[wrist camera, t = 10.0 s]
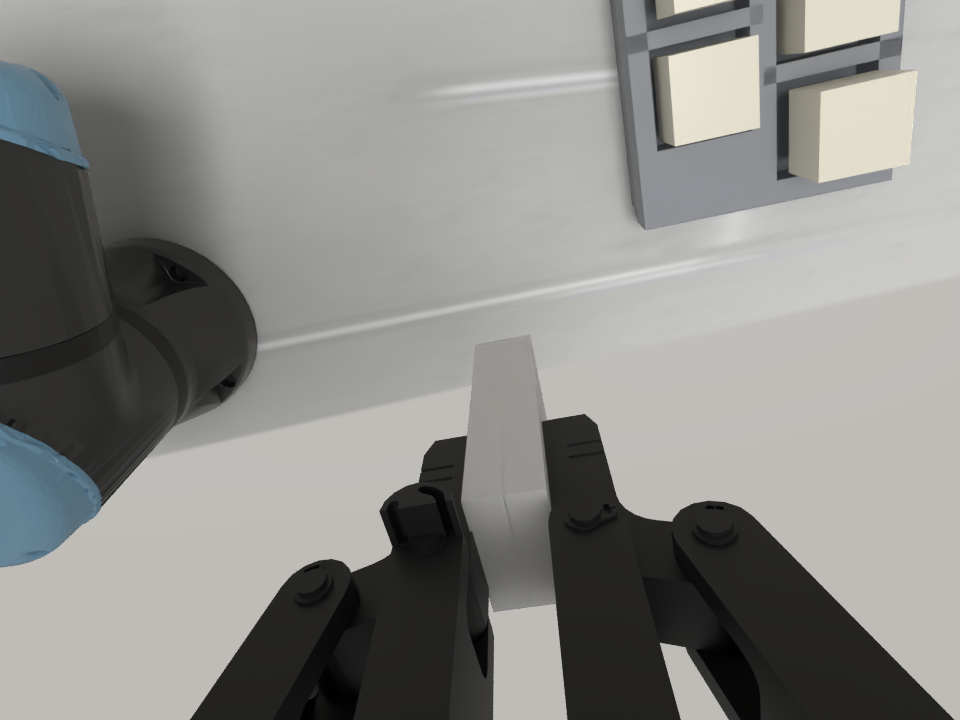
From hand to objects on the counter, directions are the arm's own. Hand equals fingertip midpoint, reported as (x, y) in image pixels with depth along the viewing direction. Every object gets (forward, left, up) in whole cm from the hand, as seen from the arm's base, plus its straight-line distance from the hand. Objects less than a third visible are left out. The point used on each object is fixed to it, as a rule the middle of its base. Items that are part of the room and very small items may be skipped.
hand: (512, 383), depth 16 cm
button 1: (+21, +1, -26) cm, 33 cm away
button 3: (+21, +8, -28) cm, 36 cm away
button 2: (+13, +4, -28) cm, 31 cm away
